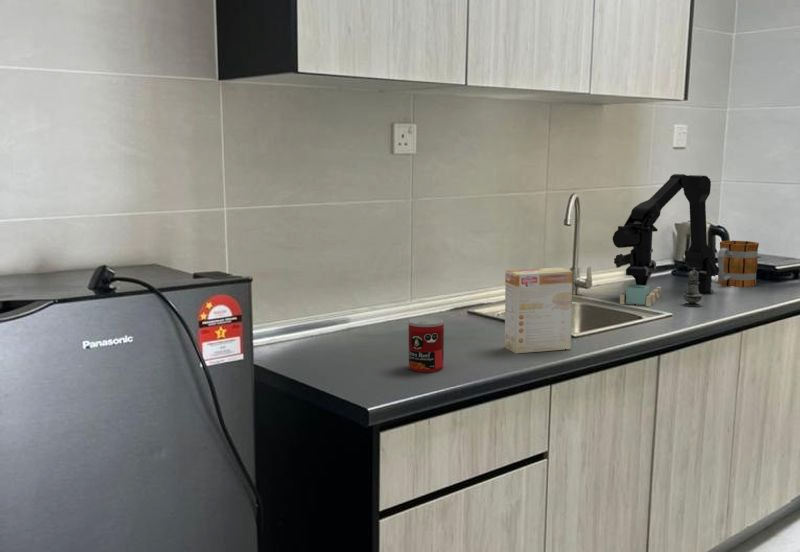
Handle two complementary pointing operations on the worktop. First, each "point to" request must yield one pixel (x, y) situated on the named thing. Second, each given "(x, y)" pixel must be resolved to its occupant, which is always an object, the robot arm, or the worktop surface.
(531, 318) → the coffeecake box
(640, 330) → the worktop surface
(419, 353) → the canned food
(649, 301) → the chute
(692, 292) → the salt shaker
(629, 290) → the block
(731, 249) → the mug
